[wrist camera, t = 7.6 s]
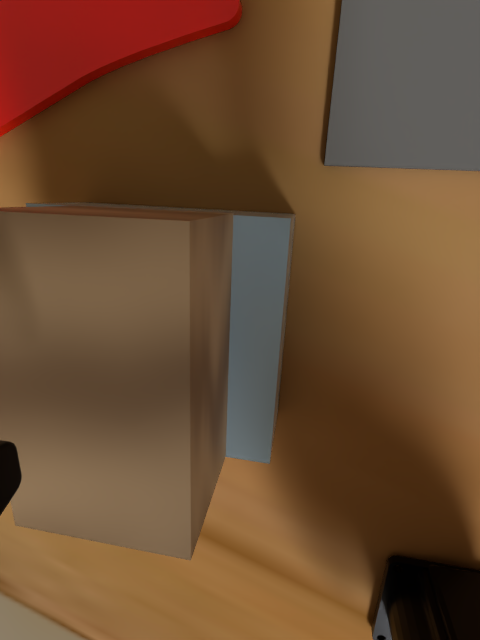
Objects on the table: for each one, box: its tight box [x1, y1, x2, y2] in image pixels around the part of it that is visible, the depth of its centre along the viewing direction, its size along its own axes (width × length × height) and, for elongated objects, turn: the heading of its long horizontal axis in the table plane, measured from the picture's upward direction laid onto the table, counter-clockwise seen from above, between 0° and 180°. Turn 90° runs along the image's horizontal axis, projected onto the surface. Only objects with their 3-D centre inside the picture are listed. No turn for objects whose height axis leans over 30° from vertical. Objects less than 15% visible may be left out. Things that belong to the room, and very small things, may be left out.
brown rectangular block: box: [0, 206, 233, 560], centre depth 13 cm, size 10×6×5 cm, turn 178°
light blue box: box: [26, 202, 296, 464], centre depth 17 cm, size 10×10×4 cm
